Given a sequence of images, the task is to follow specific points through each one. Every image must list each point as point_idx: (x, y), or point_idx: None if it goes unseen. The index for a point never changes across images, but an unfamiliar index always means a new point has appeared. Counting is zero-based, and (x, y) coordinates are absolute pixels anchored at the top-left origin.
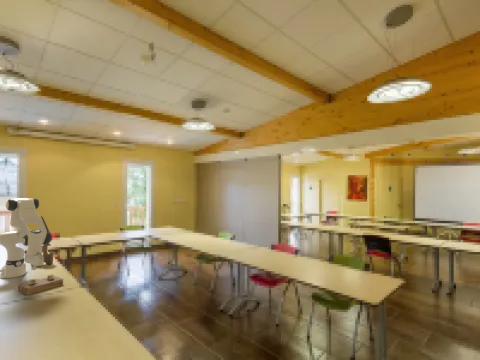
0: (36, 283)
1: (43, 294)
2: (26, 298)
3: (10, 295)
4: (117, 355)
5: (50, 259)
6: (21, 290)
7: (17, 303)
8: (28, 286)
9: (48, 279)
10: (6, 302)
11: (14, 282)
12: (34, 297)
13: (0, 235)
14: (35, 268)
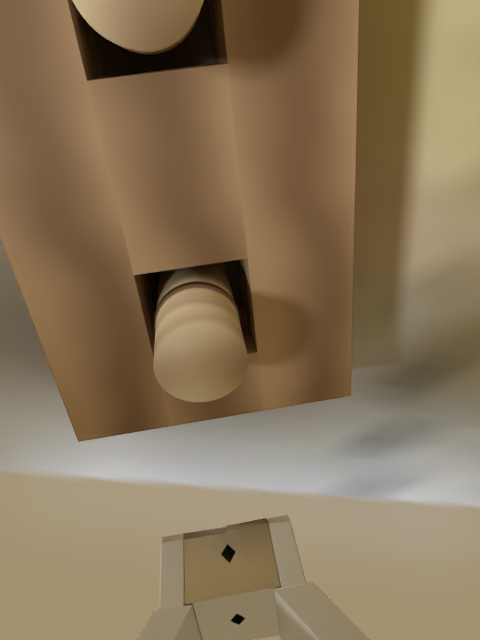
0: (194, 264)
1: (475, 232)
2: (416, 376)
3: (187, 450)
4: None
5: None
6: None
7: (460, 441)
8: (259, 375)
9: (176, 43)
10: (352, 487)
11: None
12: (465, 322)
13: None
14: (295, 558)
